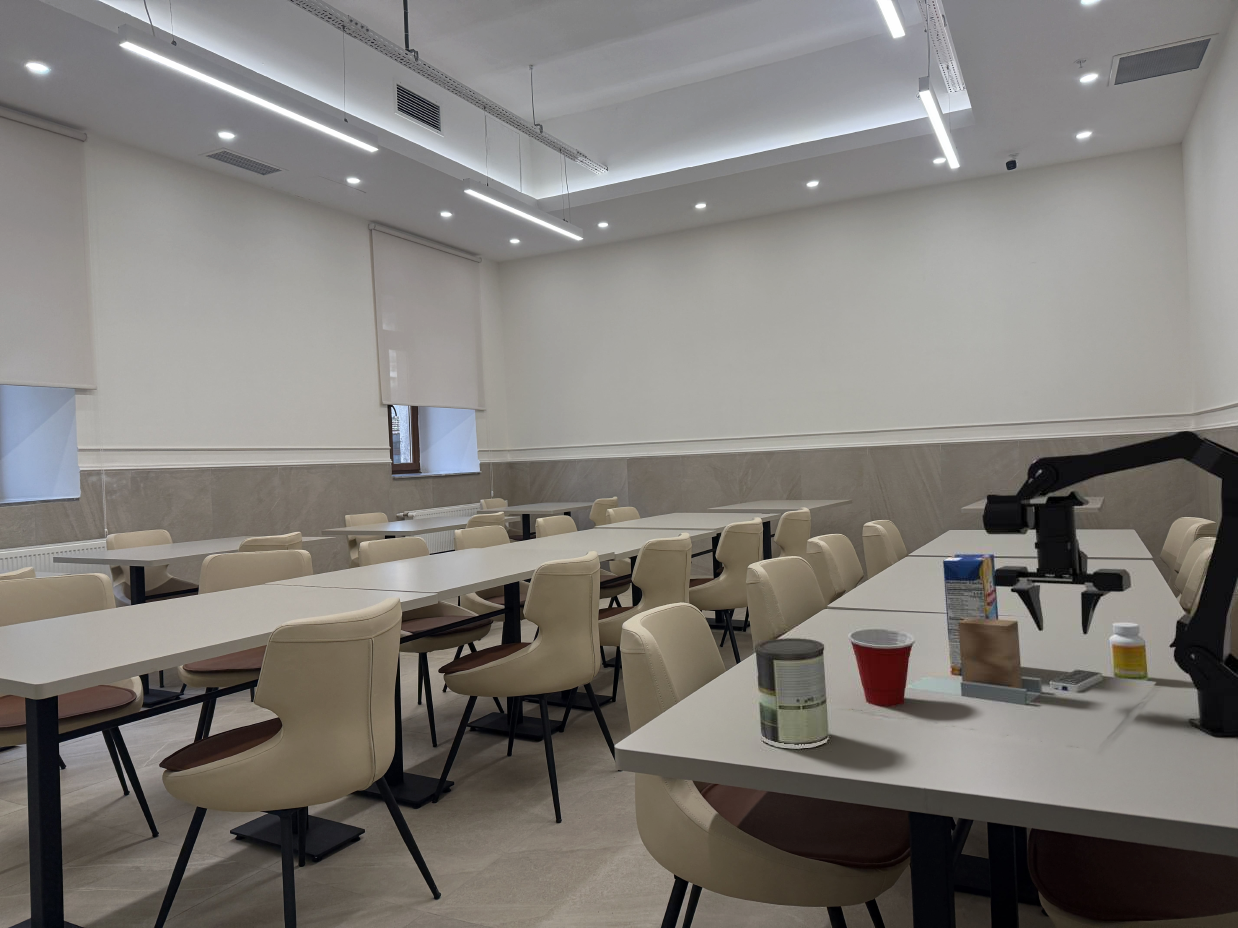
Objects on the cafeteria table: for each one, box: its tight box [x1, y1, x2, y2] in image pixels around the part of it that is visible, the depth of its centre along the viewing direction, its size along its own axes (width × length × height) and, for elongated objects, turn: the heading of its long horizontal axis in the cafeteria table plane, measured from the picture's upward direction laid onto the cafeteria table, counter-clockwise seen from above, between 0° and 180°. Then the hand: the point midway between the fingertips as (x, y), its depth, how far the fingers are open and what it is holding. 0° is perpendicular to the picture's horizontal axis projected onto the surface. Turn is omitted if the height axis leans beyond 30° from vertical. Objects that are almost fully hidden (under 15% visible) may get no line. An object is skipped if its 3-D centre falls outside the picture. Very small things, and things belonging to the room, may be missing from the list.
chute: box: [905, 675, 1043, 706], centre depth 137 cm, size 20×9×3 cm, turn 46°
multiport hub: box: [1049, 669, 1104, 693], centre depth 137 cm, size 4×11×2 cm, turn 128°
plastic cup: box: [847, 628, 916, 707], centre depth 134 cm, size 11×11×12 cm
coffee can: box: [754, 637, 830, 745], centre depth 120 cm, size 10×10×14 cm
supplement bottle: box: [1109, 621, 1149, 682], centre depth 141 cm, size 5×5×10 cm
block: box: [958, 617, 1022, 689], centre depth 135 cm, size 8×5×12 cm, turn 46°
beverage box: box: [942, 553, 999, 677], centre depth 150 cm, size 7×11×22 cm, turn 145°
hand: (1062, 632), depth 127 cm, fingers open, 6 cm apart
